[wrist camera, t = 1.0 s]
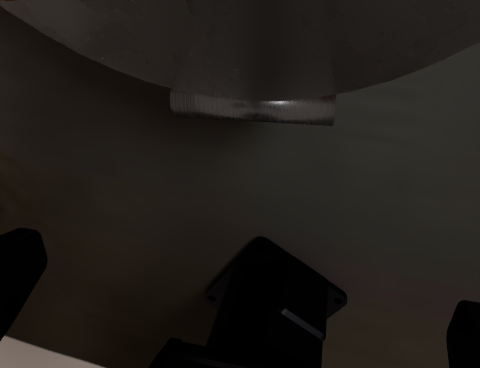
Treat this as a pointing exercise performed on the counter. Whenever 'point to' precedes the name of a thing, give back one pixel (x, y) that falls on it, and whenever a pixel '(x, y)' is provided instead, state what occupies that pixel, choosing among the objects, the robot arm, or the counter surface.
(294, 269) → the robot arm
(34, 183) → the counter surface
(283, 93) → the lid
